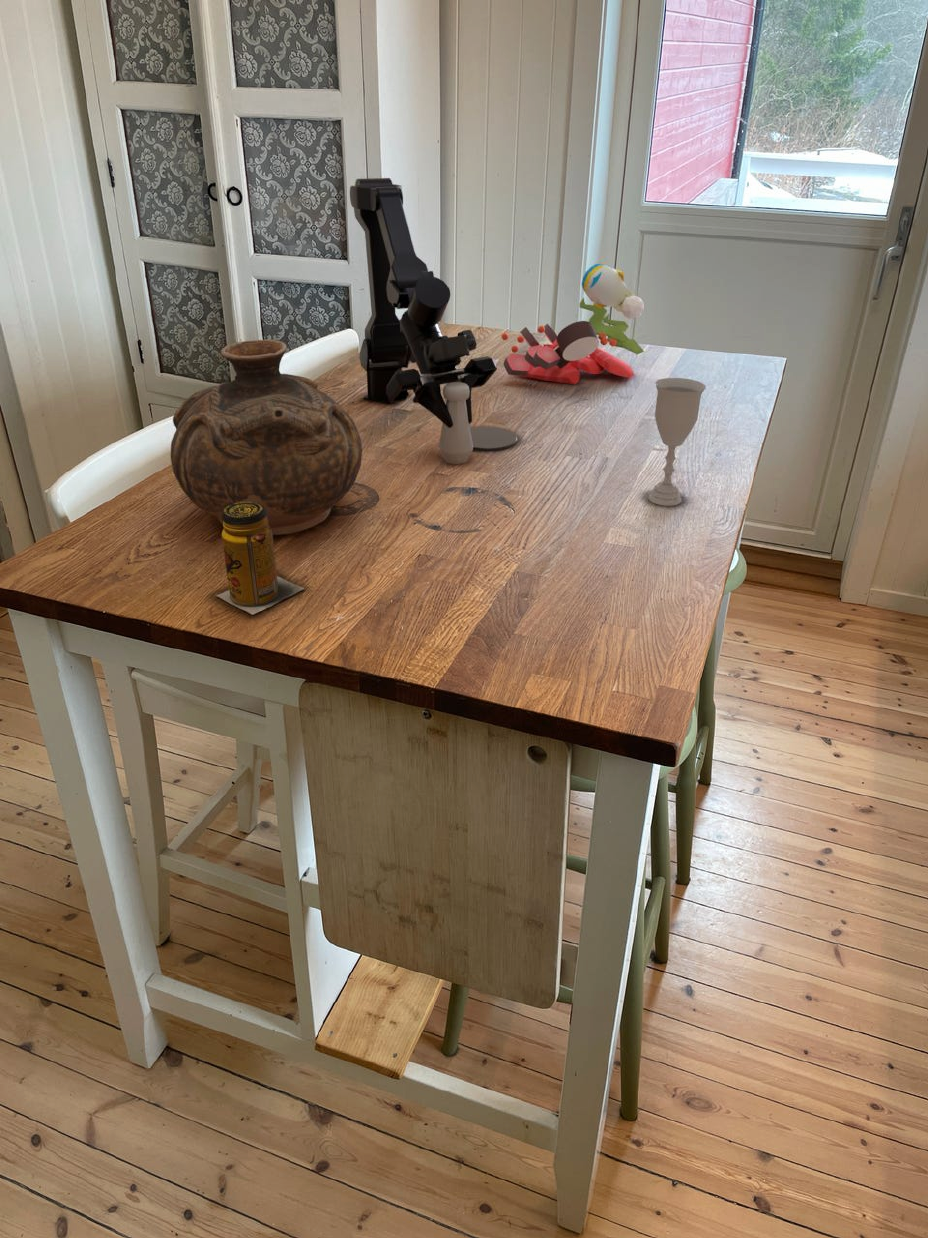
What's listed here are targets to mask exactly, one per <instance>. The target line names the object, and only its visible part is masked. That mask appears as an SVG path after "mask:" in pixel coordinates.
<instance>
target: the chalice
mask: <svg viewBox="0 0 928 1238" xmlns="http://www.w3.org/2000/svg"><path fill="white" fill-rule="evenodd" d="M654 384H655V387H656V391H657V395H656V403H655V411H654V419H655V423H656V429H657V430H658V434H659V436H660V439H661V442H662V444H664V445H665V446H667V450H668V451H667V454H666V456H665V457H664V459H665V462H666V463H665V466H664V467H663V468H662V471H664V478H663V480H662V481H660V482H658V483H656V484H655V485H654V488H653V489H652V490H651V493H650V494H649V495H648V500H649V501H650V502H652V503H653V504H656V505H659V506H666V507H667V506H668V507H669V506H677V505H679V504H681V503H682V501H683V500H682V497H681V493H680V491H679V487H678V486H677V485H676V484H675V483H674V482H673V481H672V476H673V473H674V472H675V471H676V470H675V468H674V462H675V461H676V460H677V457H676V453H675V450H676V448H677V447H680V446H682V445H683V444H684V442H685V441H686V440H687V438H688V437H689V435H690V434H691V432H692V431H693V429H694V428H695V425H696V423H697V421H698V417H699V411H700V404H701V397H702V394H703V392H704V391H705V390H706V389H707V385H706V384H704V383H703V382H701V381H698V380H695V379H691V378H683V377H665V378H660V379H658V380H656V381H655V382H654Z"/></svg>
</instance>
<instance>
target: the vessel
mask: <svg viewBox="0 0 928 1238" xmlns="http://www.w3.org/2000/svg"><path fill="white" fill-rule="evenodd" d="M287 348H288V345H287V344H286V343H285V342H283V341H280V340H274V339H255V340H254V339H253V340H244V341H237V342H233V343H231V344H227V345H226V346H224V347H223V348H222V349H221V351H220V354H221V356H222V357H224V358H225V359H226V360H227V361H228V362H229V363H230V364H231V365H232V367H233V370H234V372H235V376H234V380H231V381H229V382H222V383H219V384H217V385H212V386H209V387H207V388H204V389H201V390H199V391H197V392H196V391H195V392H194V393H193V394H192V395H190V396H189V397H188V398H186V399H184V401H183V402H182V403H181V404H180V406H179V407H178V408H177V410H176V411H175V412H174V413H173V417H172V423H173V426H174V428H175V431H174V434H173V437H172V439H171V443H170V461H171V467H172V473H173V475H174V476H175V479H176V481H177V483H178V485H179V487H180V489H181V490H182V492H183V493H184V494H185V495H186V496H187V498H188V499H189V500H190V501H191V502H192V503H193V504H194V505H195V506H197V507H198V508H199V509H201V510H202V511H204V512H206V513H208V514H210V515H212V516H214V517H216V518H217V520H218V521H219V522H220V523H221V524H222V525H223V518H222V511H223V510H224V509H225V508H226V507H227V506H229V505H231V504H234V503H238V502H256V503H259V504H261V505H263V506H264V507H265V509H266V510H267V514H266V516H267V519H268V525H269V526H270V527H271V529H272V535H273V536H281V535H290V534H295V533H296V534H297V533H300V532H303V531H305V530H308V529H310V528H314V527H316V526H317V525H319V524H321V523H322V522H324V521H325V520H327V518H328V517H329V515H330V513H331V511H332V507H334V506H335V505H336V504H338V503H339V502H340V501H341V500H342V499H343V498H344V497H345V496H346V495H347V494H348V492H349V491H350V490H351V488H352V487H353V485H354V484H355V481H356V479H357V477H358V474H359V472H360V469H361V465H362V457H363V447H362V446H363V445H362V439H361V436H360V433H359V430H358V428H357V425H356V423H355V421H354V420H353V419H352V418H351V416H350V415H349V414H348V412H347V411H346V410H345V409H344V408H343V407H342V406H341V405H340V404H339V403H338V402H337V401H336V400H335V399H333V398H332V397H331V396H329V395H328V394H326V393H325V392H323V391H321V390H319V389H318V384H317V383H316V382H315V381H314V380H312V379H310V378H307V377H304V376H300V375H294V374H289V373H281V372H280V366H281V363H282V359H283V357H284V356H285V353H286V351H287Z"/></svg>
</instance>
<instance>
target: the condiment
mask: <svg viewBox="0 0 928 1238" xmlns="http://www.w3.org/2000/svg"><path fill="white" fill-rule="evenodd" d="M266 514H267V510H266V509H265V507H264V506H263V505H261V504H259V503H256V502H238V503H234V504H231V505H229V506H227V507H226V508H225V509H224V510H223V511H222V518H223V524H222V527H223V530H222V532H221V541H222V542H221V543H222V547H223V556H224V562H225V569H226V570H225V571H226V578H227V585H228V590H226V591H223V592H222V593H219V594H215V596H216V597H217V598H219V599H221V600H223V601H225V602H226V603H228V604H230V605H232V606H234V607H236V608H238V609H240V610H242V611H245V612H247V613H248V614H250V615H252V616H253V615H256V614H258V613H259V612H262V611H264V610H266V609H268V608H271V607H273V606H274V605H276V604H278V603H279V602H282V601H283V600H284V599H287V598H289V597H291V596H294V595H296V594H297V593H298V592H300V591H303V590H305V589H306V588H305V587H304V586H300V585H297V584H296V583H293V582H290V581H288V580H286V579H283V578H282V577H280V576H279V575H278V574H277V573H278V572H277V563H276V556H275V555H276V554H275V546H274V535H272V529H271V527H270V526H269V525H268V519H267V516H266Z"/></svg>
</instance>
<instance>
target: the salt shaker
mask: <svg viewBox="0 0 928 1238" xmlns="http://www.w3.org/2000/svg"><path fill="white" fill-rule="evenodd" d="M469 394H470V391H469V386H468V385H467V384H465V383H462V382H450V383H446V384H444V386H443V389H442V396H443V399H444V400H445V404H446V407H447V409H448V411H449V413H450V416H451V419H452V422H453V426H452V427H451V428H448V427H447V426H446V425H445V424H444V423H443V422H442V423H441V430H440V434H439V435H440V436H439V440H438V441H439V442H438V449H439V452H440V454H441V456H442V459H443V460H444V462H446V464H453V465H460V464H465V463H467V461H468V459H469V457H470V455H471V454H472V452H473V451H474V450H473V442H472V436H471V431H470V428H471V426H470V424H469V420H468V414H467V407H466V400H467V399H468V398H469Z"/></svg>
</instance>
